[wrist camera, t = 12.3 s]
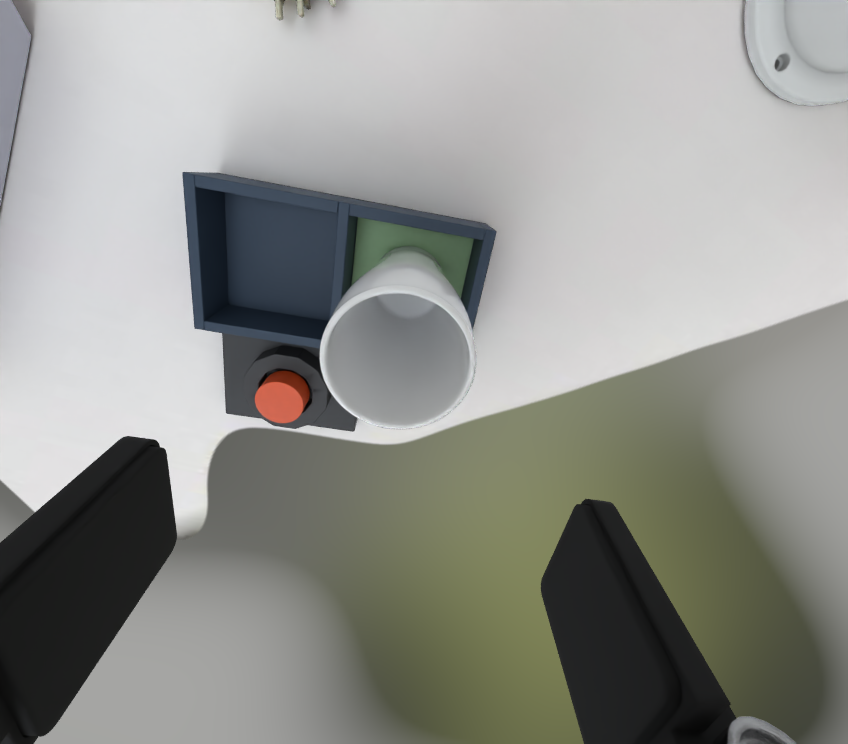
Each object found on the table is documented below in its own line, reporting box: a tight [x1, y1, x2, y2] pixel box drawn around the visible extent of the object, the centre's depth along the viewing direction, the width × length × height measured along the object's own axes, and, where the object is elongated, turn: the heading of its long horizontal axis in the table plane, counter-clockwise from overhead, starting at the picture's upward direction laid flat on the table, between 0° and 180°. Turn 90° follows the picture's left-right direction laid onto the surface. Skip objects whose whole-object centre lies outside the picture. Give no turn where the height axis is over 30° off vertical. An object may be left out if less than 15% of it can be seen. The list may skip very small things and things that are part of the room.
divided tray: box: [183, 172, 496, 348], centre depth 28 cm, size 19×10×5 cm, turn 80°
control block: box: [222, 333, 357, 431], centre depth 33 cm, size 11×8×4 cm
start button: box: [255, 371, 310, 423], centre depth 31 cm, size 4×4×2 cm
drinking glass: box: [320, 246, 477, 429], centre depth 23 cm, size 7×7×15 cm
